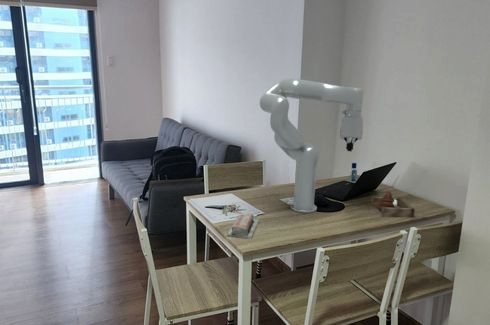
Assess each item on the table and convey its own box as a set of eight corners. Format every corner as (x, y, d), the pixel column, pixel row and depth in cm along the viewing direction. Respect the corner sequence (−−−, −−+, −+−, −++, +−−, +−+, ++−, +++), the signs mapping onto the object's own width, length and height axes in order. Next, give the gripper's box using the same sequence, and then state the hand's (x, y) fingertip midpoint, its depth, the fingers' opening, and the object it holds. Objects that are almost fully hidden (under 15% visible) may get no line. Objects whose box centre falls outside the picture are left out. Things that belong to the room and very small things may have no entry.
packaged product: (251, 228, 159) (227, 226, 160) (251, 240, 160) (226, 237, 162) (259, 212, 176) (236, 210, 178) (258, 223, 177) (236, 221, 179)
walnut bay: (382, 216, 188) (383, 208, 187) (371, 204, 205) (372, 196, 204) (413, 217, 188) (414, 209, 187) (400, 205, 205) (401, 197, 204)
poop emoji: (378, 205, 203) (380, 187, 201) (396, 208, 200) (398, 190, 198) (377, 212, 194) (379, 193, 191) (396, 215, 191) (398, 196, 189)
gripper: (338, 113, 192) (335, 151, 196) (370, 115, 192) (366, 153, 196) (336, 112, 199) (332, 148, 204) (366, 113, 199) (362, 150, 203)
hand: (349, 150), depth 200 cm, fingers closed
